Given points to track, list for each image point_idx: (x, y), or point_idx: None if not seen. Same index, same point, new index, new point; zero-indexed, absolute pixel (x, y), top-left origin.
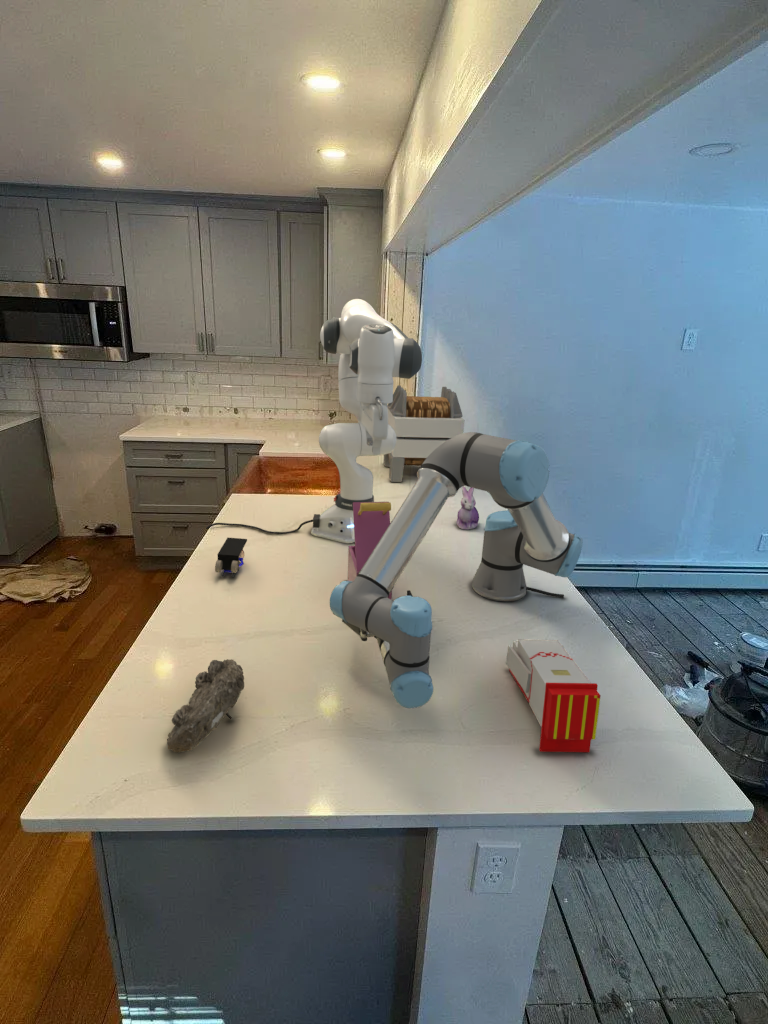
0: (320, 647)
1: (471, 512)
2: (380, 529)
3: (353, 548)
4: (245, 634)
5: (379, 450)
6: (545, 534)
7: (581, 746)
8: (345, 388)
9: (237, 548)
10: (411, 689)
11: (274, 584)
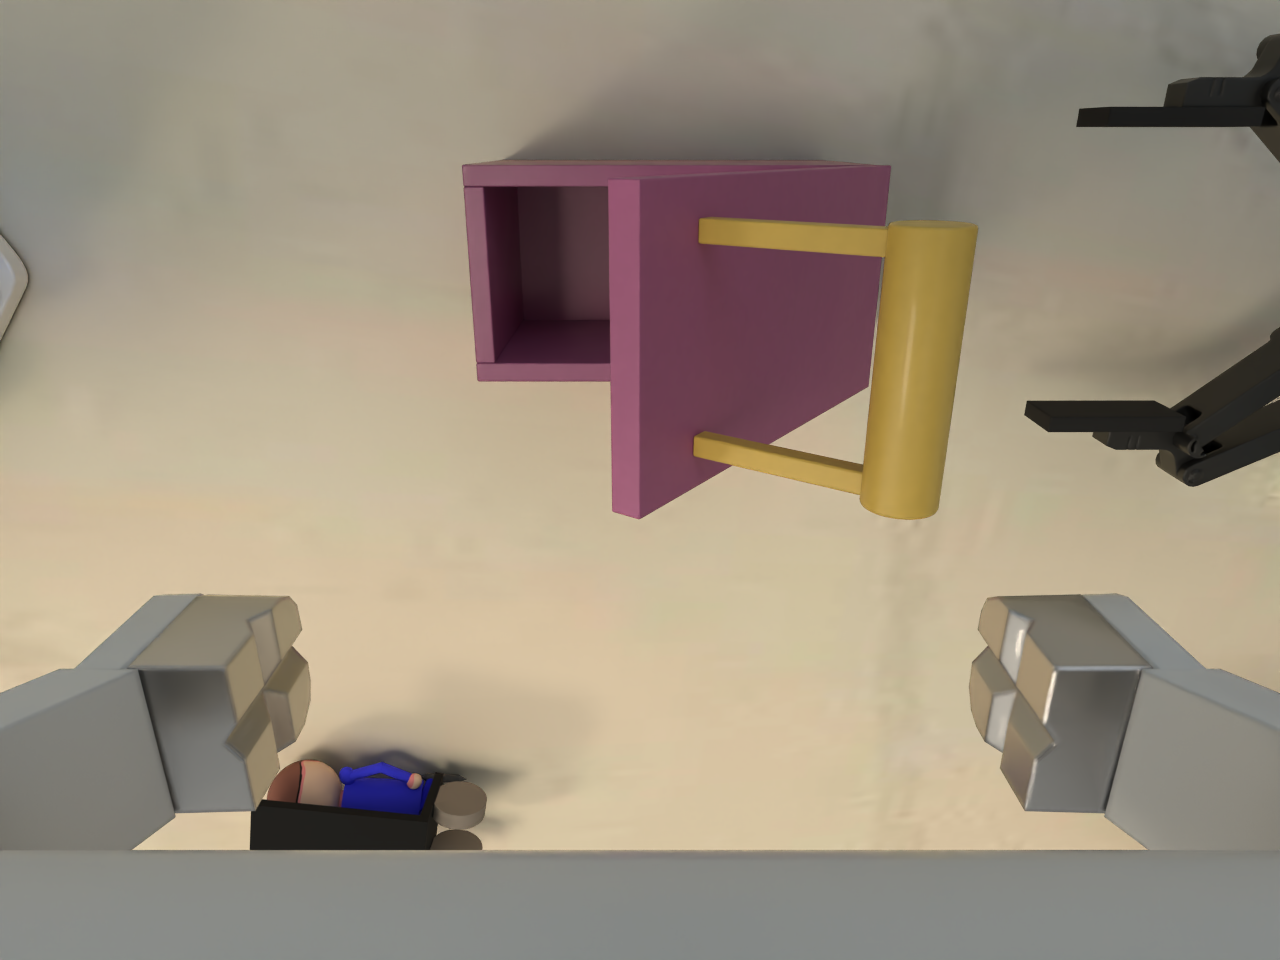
0: (1035, 491)
1: None
2: (771, 259)
3: (496, 350)
4: (887, 717)
5: (1158, 643)
6: None
7: None
8: None
9: (357, 831)
10: None
11: (524, 635)
